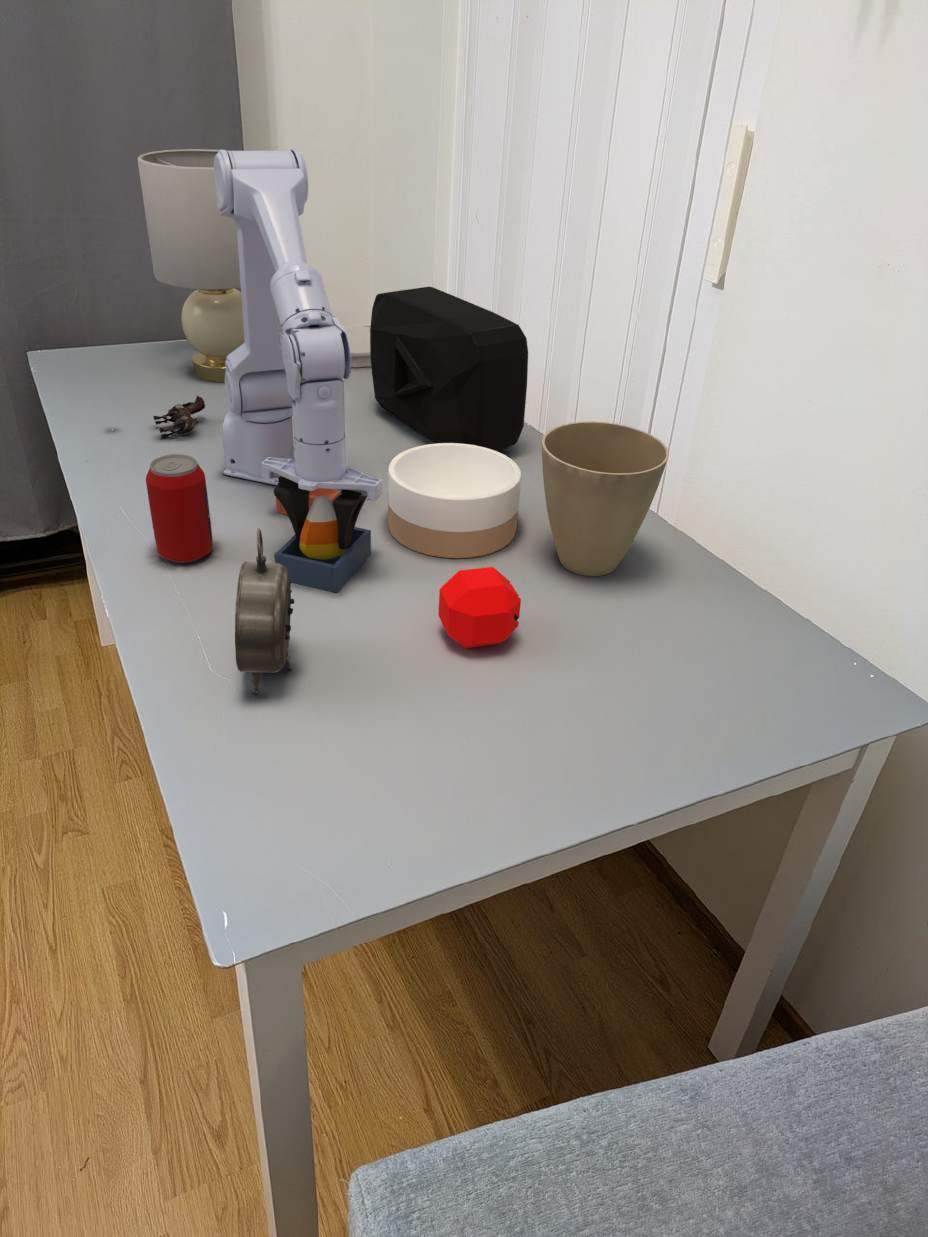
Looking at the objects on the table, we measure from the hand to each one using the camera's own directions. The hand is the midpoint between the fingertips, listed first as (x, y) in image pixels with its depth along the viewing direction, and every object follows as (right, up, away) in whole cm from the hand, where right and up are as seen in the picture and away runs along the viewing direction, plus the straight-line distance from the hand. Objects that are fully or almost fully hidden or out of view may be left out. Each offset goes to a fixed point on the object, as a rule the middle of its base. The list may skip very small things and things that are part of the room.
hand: (323, 540), depth 110 cm
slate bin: (0, -3, +2) cm, 3 cm away
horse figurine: (-30, +20, +33) cm, 49 cm away
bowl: (+15, +3, +12) cm, 20 cm away
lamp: (-27, +36, +57) cm, 72 cm away
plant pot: (+33, -2, +6) cm, 33 cm away
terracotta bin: (-3, +7, +16) cm, 17 cm away
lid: (-6, +42, +69) cm, 81 cm away
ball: (+18, -11, -9) cm, 23 cm away
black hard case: (+12, +21, +39) cm, 46 cm away
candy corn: (0, -2, +1) cm, 2 cm away
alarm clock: (-3, -15, -16) cm, 22 cm away
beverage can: (-18, -1, +3) cm, 18 cm away
